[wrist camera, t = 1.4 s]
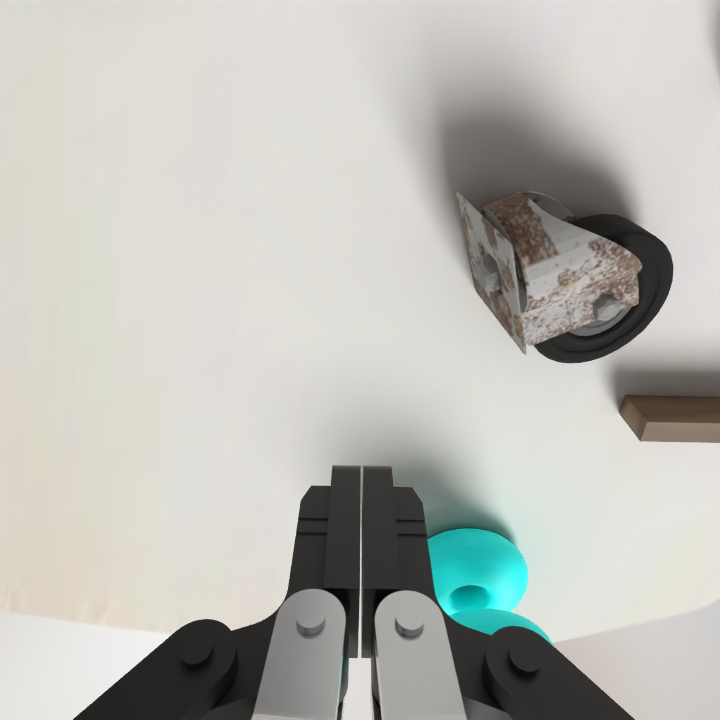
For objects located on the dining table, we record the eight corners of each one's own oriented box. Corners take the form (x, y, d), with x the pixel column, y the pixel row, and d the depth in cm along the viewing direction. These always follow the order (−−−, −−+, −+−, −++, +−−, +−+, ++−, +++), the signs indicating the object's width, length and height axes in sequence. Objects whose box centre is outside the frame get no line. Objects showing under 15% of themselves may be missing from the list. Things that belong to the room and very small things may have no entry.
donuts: (457, 628, 30) (595, 666, 32) (436, 505, 39) (545, 541, 41) (387, 709, 35) (512, 738, 37) (382, 583, 44) (483, 612, 46)
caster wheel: (621, 293, 33) (478, 349, 34) (626, 120, 26) (445, 193, 27) (694, 354, 28) (524, 418, 29) (725, 159, 21) (499, 249, 21)
